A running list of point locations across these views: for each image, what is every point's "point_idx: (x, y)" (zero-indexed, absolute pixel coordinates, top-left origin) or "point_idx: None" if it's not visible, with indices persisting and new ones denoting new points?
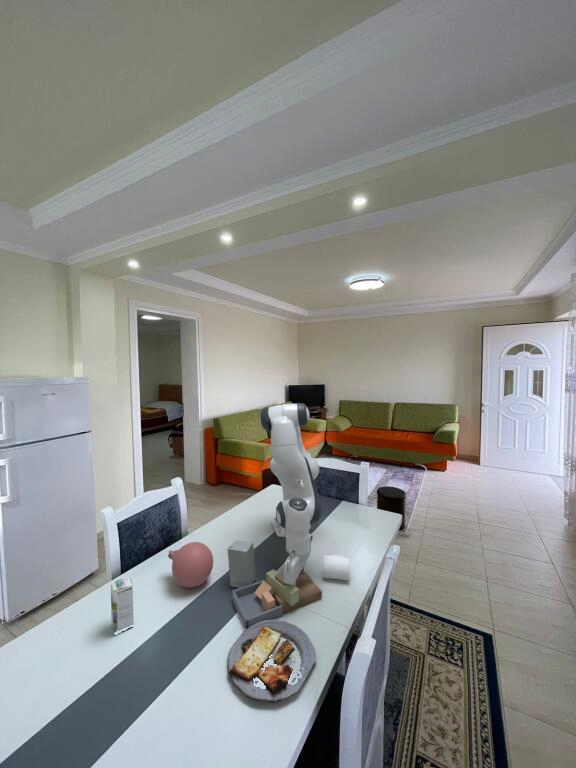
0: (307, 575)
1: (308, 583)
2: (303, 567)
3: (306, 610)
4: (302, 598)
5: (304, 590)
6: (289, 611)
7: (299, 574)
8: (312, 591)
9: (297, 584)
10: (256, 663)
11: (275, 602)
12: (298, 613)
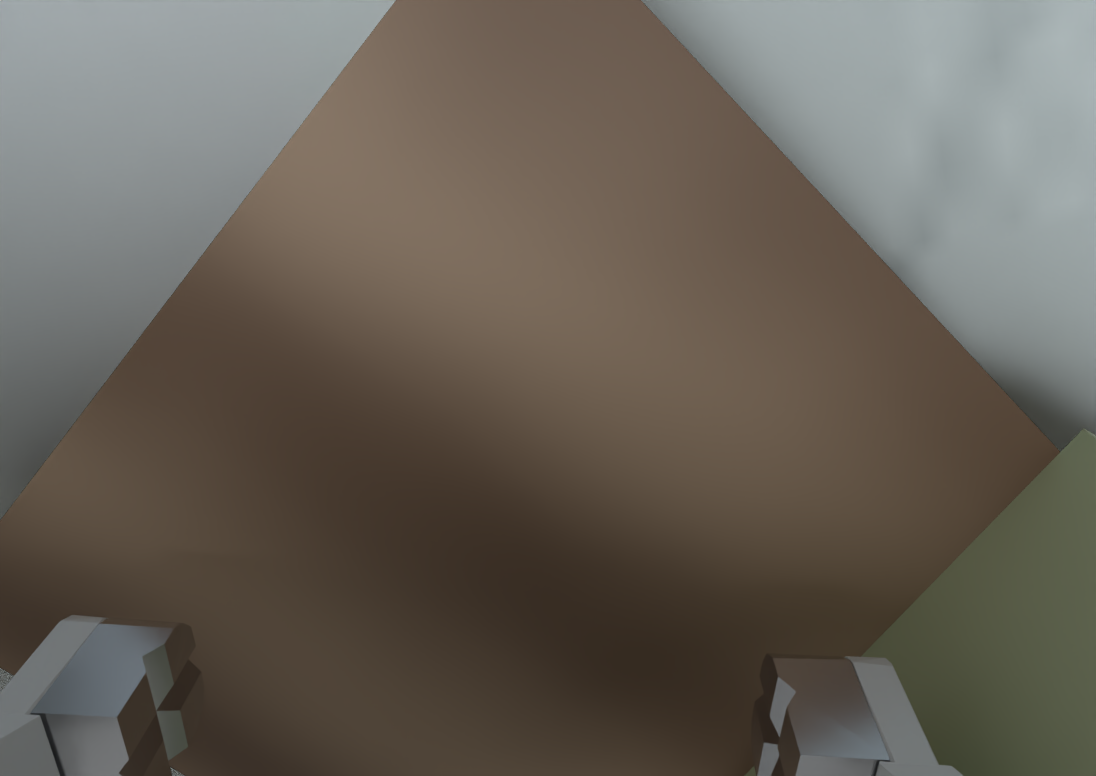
0: (66, 466)
1: (348, 368)
2: (14, 757)
3: (987, 177)
4: (969, 371)
5: (651, 398)
6: None
7: None
8: (621, 176)
9: (498, 595)
10: None
11: None
12: (1093, 317)
